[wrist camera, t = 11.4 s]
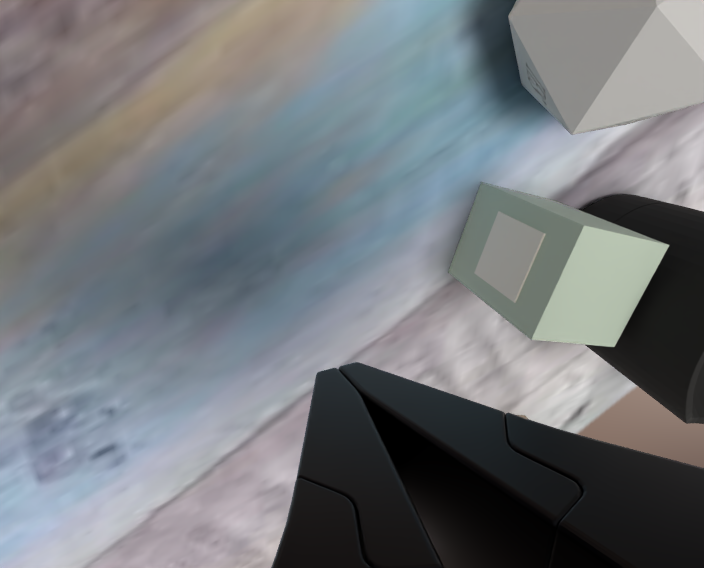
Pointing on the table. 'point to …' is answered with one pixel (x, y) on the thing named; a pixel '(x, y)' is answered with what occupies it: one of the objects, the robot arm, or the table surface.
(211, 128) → the table surface
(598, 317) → the sage block
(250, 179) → the table surface
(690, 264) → the pen holder
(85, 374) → the table surface
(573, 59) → the die
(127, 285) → the table surface
